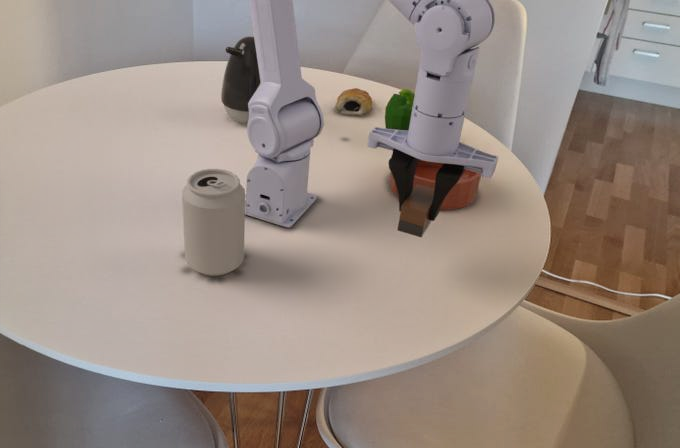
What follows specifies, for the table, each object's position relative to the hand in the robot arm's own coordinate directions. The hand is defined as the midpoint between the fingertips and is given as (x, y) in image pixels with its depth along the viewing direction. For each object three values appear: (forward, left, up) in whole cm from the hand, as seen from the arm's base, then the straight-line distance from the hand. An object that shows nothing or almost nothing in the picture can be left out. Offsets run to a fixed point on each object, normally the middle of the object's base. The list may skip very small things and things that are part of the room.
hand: (418, 212), depth 78 cm
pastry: (+44, +25, -8) cm, 52 cm away
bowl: (+22, +3, -8) cm, 24 cm away
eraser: (0, 0, -1) cm, 1 cm away
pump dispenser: (+29, +40, -8) cm, 50 cm away
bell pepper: (+35, +12, -8) cm, 38 cm away
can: (-12, +22, -8) cm, 26 cm away
